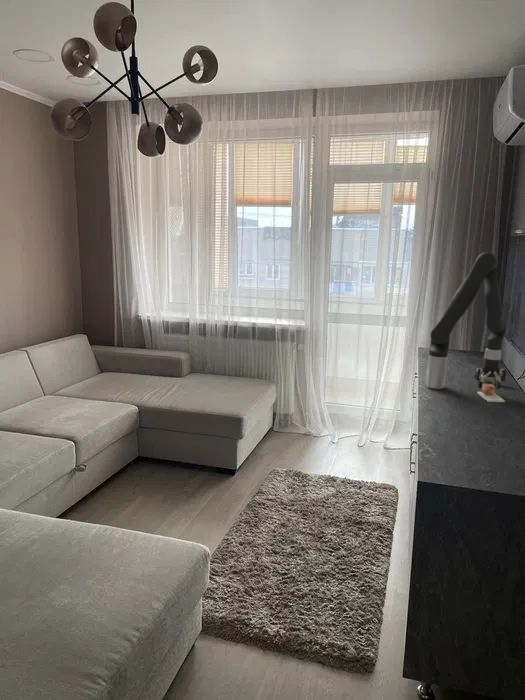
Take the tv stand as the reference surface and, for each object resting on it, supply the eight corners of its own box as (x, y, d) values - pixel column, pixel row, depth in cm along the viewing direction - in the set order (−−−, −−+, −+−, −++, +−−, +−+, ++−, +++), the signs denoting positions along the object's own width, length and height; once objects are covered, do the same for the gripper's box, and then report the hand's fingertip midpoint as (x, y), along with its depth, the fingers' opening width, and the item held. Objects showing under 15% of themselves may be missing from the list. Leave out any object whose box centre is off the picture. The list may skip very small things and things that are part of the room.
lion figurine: (505, 385, 275) (507, 369, 273) (499, 386, 272) (502, 370, 270) (479, 379, 287) (481, 363, 285) (474, 380, 283) (476, 365, 282)
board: (487, 401, 246) (488, 400, 246) (477, 393, 260) (477, 391, 260) (504, 402, 246) (504, 400, 246) (492, 393, 259) (493, 392, 259)
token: (484, 395, 254) (486, 386, 253) (481, 392, 258) (482, 383, 257) (494, 395, 254) (495, 386, 253) (490, 392, 258) (491, 384, 257)
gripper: (480, 358, 248) (477, 390, 252) (510, 359, 248) (506, 391, 251) (475, 355, 256) (471, 386, 259) (503, 356, 255) (499, 387, 259)
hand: (488, 388), depth 255 cm, fingers open, 8 cm apart
